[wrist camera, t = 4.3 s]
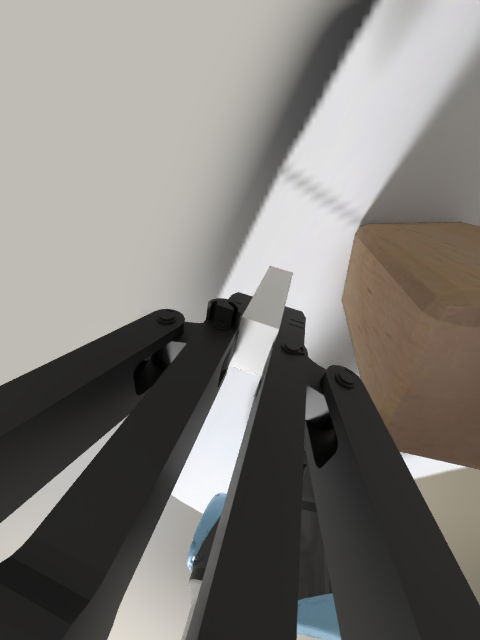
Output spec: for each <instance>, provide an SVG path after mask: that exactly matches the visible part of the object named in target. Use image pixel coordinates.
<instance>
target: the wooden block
mask: <svg viewBox="0 0 480 640" xmlns="http://www.w3.org/2000/svg"><path fill="white" fill-rule="evenodd" d="M342 303H343V307H344V312H345V316H346V320H347V324H348V328H349V332H350V336H351V340H352V344H353V348H354V352H355V356H356V361H357V365H358V369H359V373H360V377H361V381H362V382H363V383H364V385H365V387H366V389H367V391H368V393H369V395H370V397H371V399H372V401H373V403H374V404H375V406H376V408H377V410H378V412H379V414H380V416H381V418H382V420H383V422H384V424H385V425H386V427H387V429H388V431H389V433H390V435H391V437H392V439H393V441H394V443H395V445H396V446H397V448H398V450H399V452H404V453H408V454H413V455H417V456H422V457H426V458H430V459H435V460H439V461H444V462H448V463H453V464H457V465H462V466H466V467H471V468H475V469H479V470H480V227H479V226H474V225H470V224H466V223H462V222H442V223H396V224H366V225H364V226H361V227H359V229H358V230H357V232H356V233H355V237H354V242H353V247H352V252H351V257H350V261H349V266H348V271H347V276H346V281H345V286H344V291H343V296H342Z"/></svg>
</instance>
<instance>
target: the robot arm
mask: <svg viewBox="0 0 480 640" xmlns="http://www.w3.org/2000/svg"><path fill="white" fill-rule="evenodd" d="M292 275H293V273H292V272H289V271H285V270H282V269H278V268H275V267H272V266H270V267H269V269H268V271H267V272H266V274H265V276H264V278H263V280H262V281H261V283H260V285H259V287H258V289H257V290H256V292H255V294H254V296H253V297H252V296H249V295H245V294H242V293H239V292H238V293H235V294H233V295H231V297H230V298H229V299H221V298H217V299H213V300H211V301H209V302H208V309H207V316H206V320H205V321H204V323H191V322H185V318H184V316H183V314H181V313H180V312H178V311H175V310H171V309H161V310H157V311H154V312H152V313H150V314H148V315H146V316H144V317H142V318H140V319H138V320H136V321H134V322H132V323H130V324H128V325H125V326H123V327H121V328H119V329H117V330H115V331H113V332H111V333H109V334H107V335H105V336H103V337H101V338H99V339H97V340H95V341H92V342H90V343H88V344H86V345H84V346H82V347H80V348H78V349H76V350H74V351H72V352H70V353H67V354H65V355H63V356H61V357H59V358H57V359H55V360H53V361H51V362H49V363H47V364H45V365H43V366H41V367H38V368H37V369H34V370H32V371H30V372H28V373H26V374H24V375H22V376H20V377H18V378H16V379H14V380H12V381H9V382H8V383H5V384H3V385H1V386H0V523H1V522H2V521H3V520H5V519H6V518H7V517H8V516H9V515H10V514H12V513H13V512H14V511H15V510H16V509H18V508H19V507H20V506H21V505H22V504H23V503H25V502H26V501H27V500H28V499H29V498H31V497H32V496H33V495H34V494H35V493H37V492H38V491H39V490H40V489H41V488H42V487H44V486H45V485H46V484H47V483H48V482H50V481H51V480H52V479H53V478H54V477H55V476H57V475H58V474H59V473H60V472H61V471H63V470H64V469H65V468H66V467H67V466H68V465H69V464H71V463H72V462H73V461H74V460H76V459H77V458H78V457H79V456H80V455H81V454H83V453H84V452H85V451H86V450H87V449H89V448H90V447H91V446H92V445H93V444H94V443H96V442H97V441H98V440H99V439H100V438H102V437H103V436H104V435H105V434H106V433H107V432H109V431H110V430H111V429H112V428H113V427H114V426H116V425H117V424H118V423H119V422H120V421H122V420H123V419H124V418H125V417H126V416H128V417H127V418H126V419H125V420H124V422H123V423H122V424H121V425H120V427H119V428H118V429H117V430H116V432H115V433H114V434H113V435H112V436H111V438H110V439H109V440H108V441H107V443H106V444H105V445H104V446H103V448H102V449H101V450H100V451H99V453H98V454H97V455H96V456H95V457H94V459H93V460H92V461H91V462H90V464H89V465H88V466H87V468H86V469H85V470H84V471H83V472H82V474H81V475H80V476H79V477H78V478H77V480H76V481H75V482H74V483H73V485H72V486H71V487H70V488H69V490H68V491H67V492H66V493H65V495H64V496H63V497H62V498H61V500H60V501H59V502H58V503H57V504H56V506H55V507H54V508H53V509H52V511H51V512H50V513H49V514H48V516H47V517H46V518H45V519H44V521H43V522H42V523H41V524H40V526H39V527H38V528H37V529H36V531H35V532H34V533H33V534H32V535H31V537H30V538H29V539H28V540H27V541H26V542H25V543H24V544H23V546H21V547H20V548H19V549H18V550H17V551H16V552H15V553H14V554H13V555H12V556H10V557H9V558H7V559H6V560H4V561H3V562H1V563H0V640H107V638H108V636H109V633H110V631H111V628H112V626H113V623H114V620H115V617H116V614H117V611H118V608H119V605H120V603H121V601H122V599H123V596H124V594H125V592H126V590H127V588H128V585H129V583H130V581H131V579H132V577H133V575H134V572H135V570H136V568H137V566H138V564H139V562H140V559H141V557H142V555H143V553H144V551H145V549H146V547H147V544H148V542H149V540H150V538H151V536H152V533H153V532H154V529H155V527H156V525H157V523H158V521H159V519H160V516H161V514H162V512H163V510H164V508H165V506H166V503H167V501H168V499H169V497H170V495H171V493H172V491H173V488H174V486H175V484H176V482H177V480H178V478H179V475H180V473H181V471H182V469H183V467H184V465H185V463H186V460H187V458H188V456H189V454H190V452H191V450H192V447H193V445H194V443H195V441H196V439H197V437H198V434H199V432H200V430H201V428H202V426H203V424H204V422H205V419H206V417H207V415H208V413H209V411H210V409H211V406H212V404H213V402H214V400H215V398H216V396H217V393H218V391H219V389H220V387H221V385H222V383H223V381H224V378H225V376H226V374H227V370H228V366H229V364H230V366H232V367H235V368H238V369H241V370H243V371H246V372H249V373H252V374H254V375H257V376H260V377H261V379H260V382H259V384H258V387H257V390H256V392H255V395H254V397H255V398H254V401H253V405H252V408H251V412H250V415H249V419H248V422H247V426H246V429H245V433H244V436H243V440H242V443H241V447H240V450H239V454H238V457H237V461H236V464H235V468H234V471H233V475H232V478H231V482H230V485H229V489H228V492H227V494H225V493H219V494H217V495H215V496H214V497H213V499H212V500H211V501H210V503H209V504H208V506H207V508H206V510H205V512H204V514H203V516H202V518H201V521H200V522H199V525H198V527H197V530H196V532H195V535H194V538H193V541H192V544H191V546H190V549H189V552H188V556H187V566H188V568H189V569H190V571H192V574H191V577H190V580H189V583H188V588H189V593H190V598H191V609H190V613H189V616H188V619H187V622H186V626H185V629H184V632H183V636H182V639H181V640H296V638H297V633H298V634H301V635H305V636H309V637H313V638H318V639H324V640H480V605H479V603H478V601H477V599H476V597H475V596H474V594H473V592H472V590H471V588H470V586H469V584H468V582H467V580H466V578H465V576H464V575H463V573H462V571H461V569H460V567H459V565H458V563H457V561H456V559H455V557H454V555H453V553H452V552H451V550H450V548H449V546H448V544H447V542H446V540H445V538H444V537H443V534H442V533H441V531H440V529H439V527H438V525H437V523H436V521H435V519H434V517H433V516H432V513H431V511H430V510H429V508H428V506H427V504H426V502H425V500H424V498H423V496H422V494H421V492H420V490H419V489H418V487H417V485H416V483H415V481H414V479H413V477H412V475H411V473H410V471H409V469H408V467H407V466H406V464H405V462H404V460H403V458H402V456H401V454H400V452H399V450H398V448H397V446H396V445H395V443H394V441H393V439H392V437H391V435H390V433H389V431H388V429H387V427H386V425H385V424H384V422H383V420H382V418H381V416H380V414H379V412H378V410H377V408H376V406H375V404H374V403H373V401H372V399H371V397H370V395H369V393H368V391H367V389H366V387H365V385H364V383H363V382H362V381H361V379H360V378H359V377H358V376H357V375H356V374H355V373H354V372H352V371H351V370H349V369H347V368H345V367H342V366H339V365H332V366H330V367H328V368H327V370H326V369H324V368H322V367H321V366H319V365H317V364H316V363H314V362H313V361H312V360H311V359H310V358H309V357H308V352H307V349H306V348H305V346H304V337H305V321H306V318H305V316H304V314H303V312H301V311H298V310H295V309H292V308H289V307H286V306H285V304H286V300H287V295H288V291H289V287H290V283H291V279H292ZM230 362H231V363H230ZM304 444H305V450H306V451H304Z"/></svg>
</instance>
